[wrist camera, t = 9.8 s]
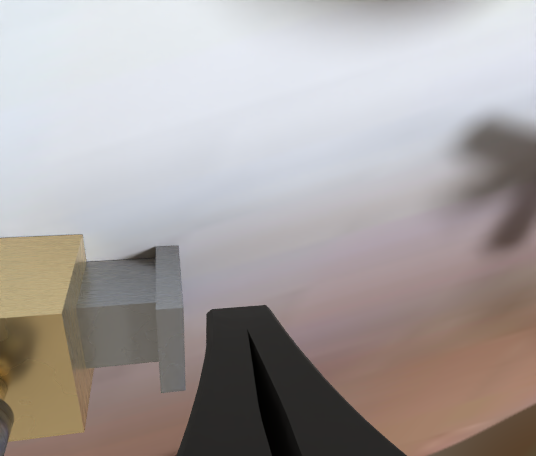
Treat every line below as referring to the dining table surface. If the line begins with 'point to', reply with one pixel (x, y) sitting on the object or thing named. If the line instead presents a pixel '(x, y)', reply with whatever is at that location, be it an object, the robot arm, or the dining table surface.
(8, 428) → the valve lever
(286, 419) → the robot arm
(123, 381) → the dining table surface
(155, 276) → the valve body
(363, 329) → the dining table surface
